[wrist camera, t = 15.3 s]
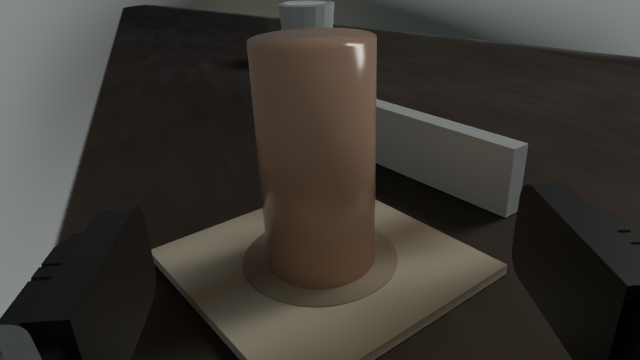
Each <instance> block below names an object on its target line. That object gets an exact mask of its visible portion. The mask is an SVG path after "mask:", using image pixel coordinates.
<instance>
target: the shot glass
mask: <svg viewBox="0 0 640 360" xmlns="http://www.w3.org/2000/svg"><path fill="white" fill-rule="evenodd" d="M278 7H279V13H280V20H281V27H282V30H290V29H302V28H333V14H334V2H332V1H327V0H297V1H288V2H284V3H280V4H278Z"/></svg>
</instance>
